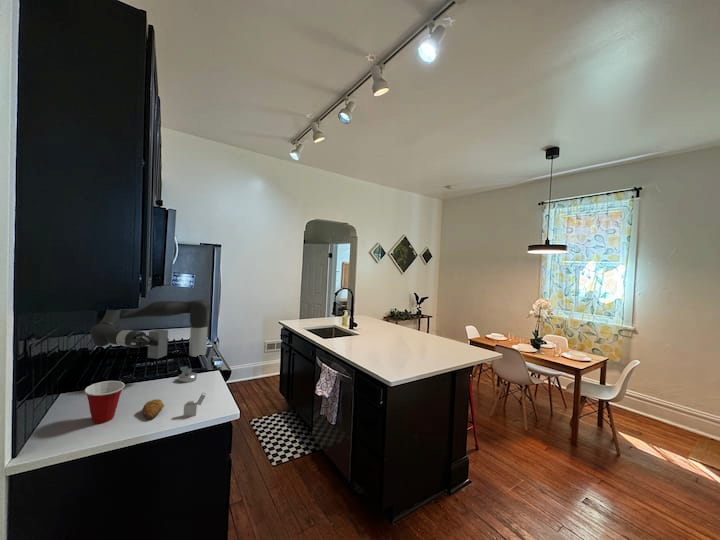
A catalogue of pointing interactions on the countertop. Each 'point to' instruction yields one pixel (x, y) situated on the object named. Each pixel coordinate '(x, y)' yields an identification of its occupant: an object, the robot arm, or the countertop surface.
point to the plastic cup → (103, 400)
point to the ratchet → (187, 375)
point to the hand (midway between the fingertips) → (162, 342)
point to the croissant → (152, 408)
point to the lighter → (192, 406)
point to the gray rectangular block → (162, 339)
